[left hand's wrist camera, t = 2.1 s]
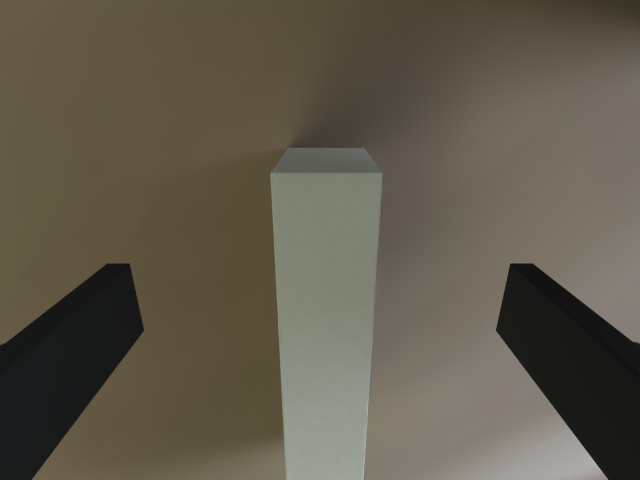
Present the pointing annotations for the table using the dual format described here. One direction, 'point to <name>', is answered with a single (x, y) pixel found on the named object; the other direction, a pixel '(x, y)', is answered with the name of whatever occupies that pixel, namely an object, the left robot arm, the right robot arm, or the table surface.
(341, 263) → the bar
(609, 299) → the table surface
